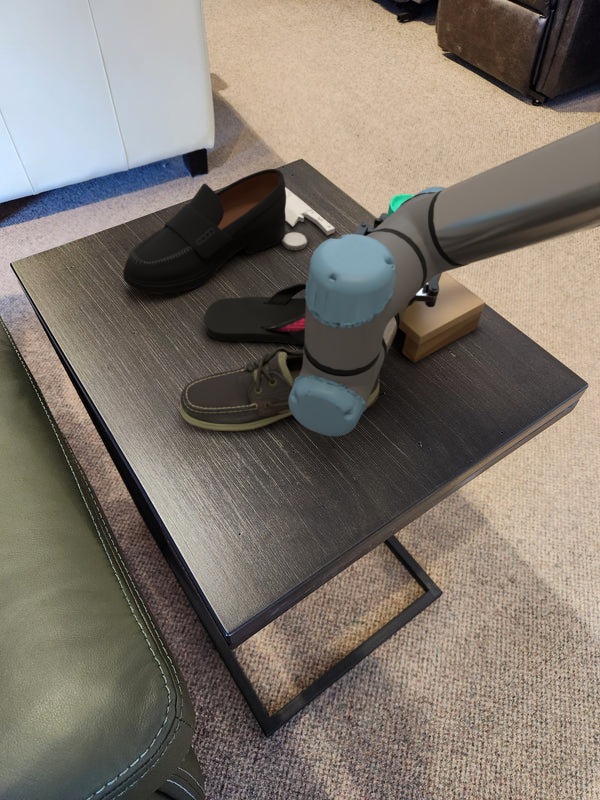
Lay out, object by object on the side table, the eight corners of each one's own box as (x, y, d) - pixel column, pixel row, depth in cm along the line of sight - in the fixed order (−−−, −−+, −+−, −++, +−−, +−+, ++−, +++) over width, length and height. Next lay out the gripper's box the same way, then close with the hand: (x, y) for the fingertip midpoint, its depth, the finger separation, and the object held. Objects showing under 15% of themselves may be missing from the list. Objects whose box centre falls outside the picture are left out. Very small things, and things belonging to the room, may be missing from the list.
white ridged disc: (277, 239, 96) (277, 236, 96) (299, 232, 97) (299, 229, 97) (290, 252, 94) (290, 249, 93) (311, 245, 95) (312, 242, 95)
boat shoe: (177, 389, 76) (168, 344, 70) (363, 359, 80) (371, 315, 74) (185, 446, 70) (176, 404, 64) (385, 411, 75) (395, 368, 68)
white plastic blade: (310, 242, 96) (310, 236, 95) (260, 198, 103) (259, 192, 102) (335, 232, 98) (335, 226, 97) (284, 189, 105) (284, 183, 104)
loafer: (112, 276, 89) (93, 203, 80) (266, 218, 101) (265, 148, 91) (142, 311, 84) (125, 238, 75) (300, 246, 96) (303, 176, 86)
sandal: (388, 349, 81) (394, 319, 77) (203, 352, 80) (199, 322, 76) (379, 303, 87) (384, 272, 83) (207, 305, 86) (203, 274, 82)
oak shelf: (476, 328, 85) (485, 302, 81) (413, 363, 80) (420, 337, 76) (377, 248, 95) (381, 221, 92) (317, 275, 91) (318, 248, 87)
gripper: (293, 321, 73) (353, 219, 86) (435, 363, 69) (474, 249, 83) (295, 272, 67) (359, 171, 81) (450, 316, 63) (489, 202, 77)
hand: (417, 211), depth 82 cm, fingers closed on candle, 5 cm apart
